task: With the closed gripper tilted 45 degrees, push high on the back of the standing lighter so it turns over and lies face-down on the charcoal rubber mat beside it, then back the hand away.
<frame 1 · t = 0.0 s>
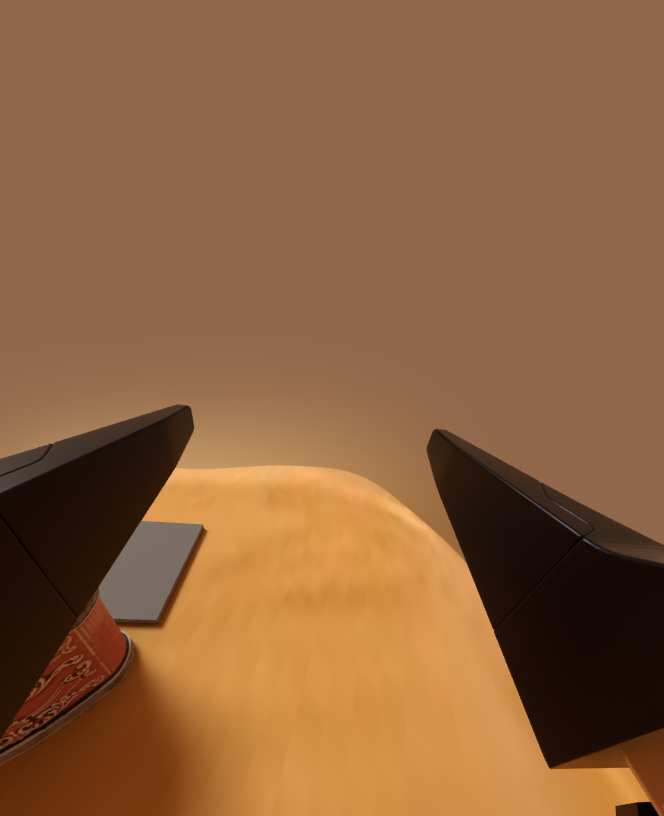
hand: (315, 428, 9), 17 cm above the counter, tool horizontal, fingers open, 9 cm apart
lighter: (40, 705, 13), on the counter
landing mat: (103, 564, 19), on the counter
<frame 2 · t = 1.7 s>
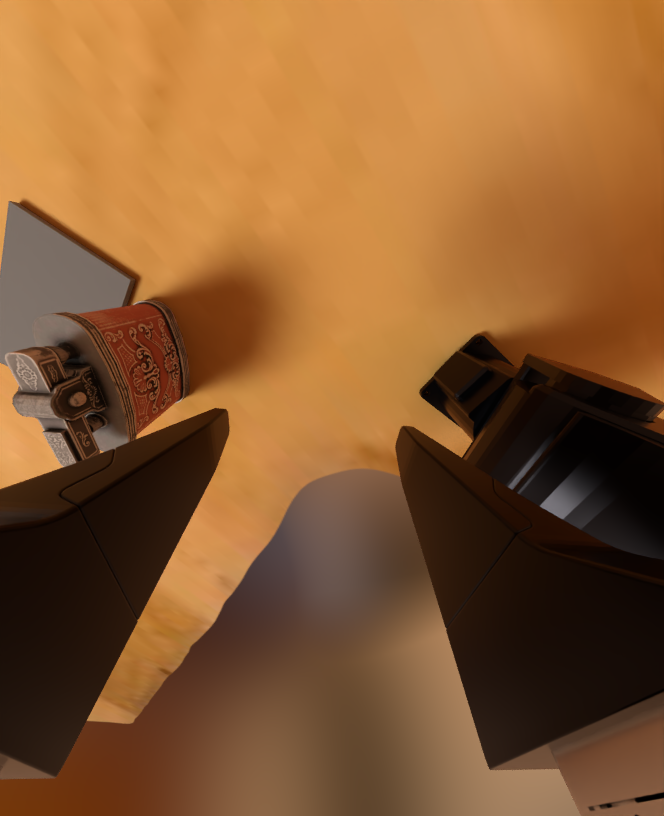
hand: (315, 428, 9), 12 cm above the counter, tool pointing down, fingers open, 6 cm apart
lighter: (166, 353, 20), on the counter
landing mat: (62, 320, 19), on the counter
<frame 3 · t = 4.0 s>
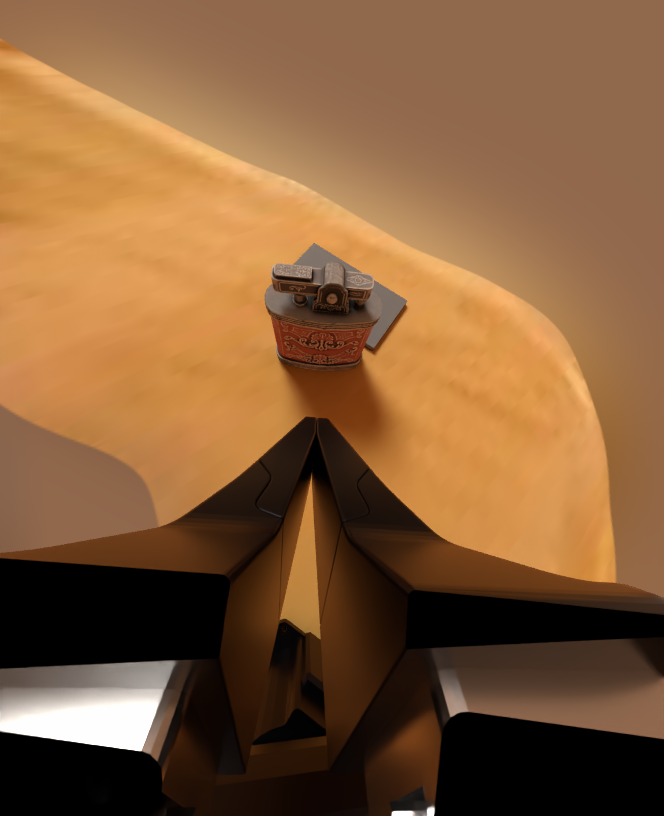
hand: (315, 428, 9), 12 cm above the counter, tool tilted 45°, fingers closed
lighter: (319, 355, 24), on the counter
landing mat: (341, 296, 26), on the counter
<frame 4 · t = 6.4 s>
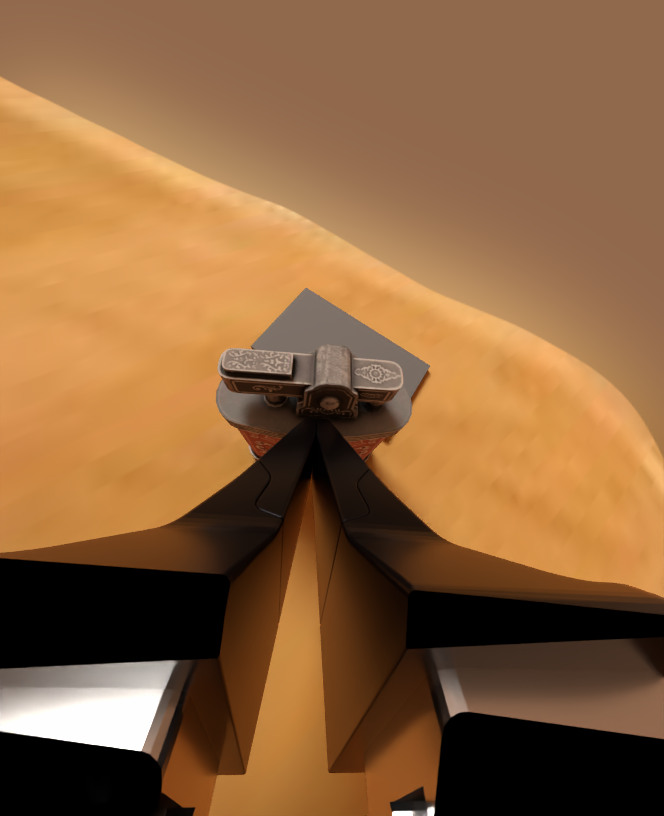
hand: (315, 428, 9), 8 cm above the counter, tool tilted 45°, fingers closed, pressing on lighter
lighter: (311, 447, 17), on the counter, touching gripper
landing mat: (342, 359, 19), on the counter
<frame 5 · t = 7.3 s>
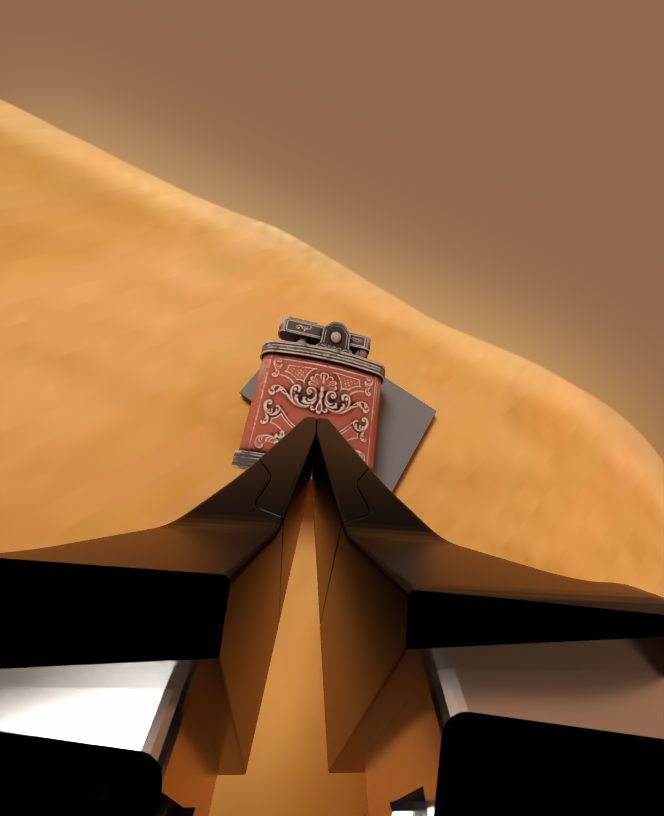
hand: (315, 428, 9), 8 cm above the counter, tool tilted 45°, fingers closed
lighter: (304, 481, 14), point 2 cm above the counter, touching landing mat
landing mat: (340, 404, 18), on the counter
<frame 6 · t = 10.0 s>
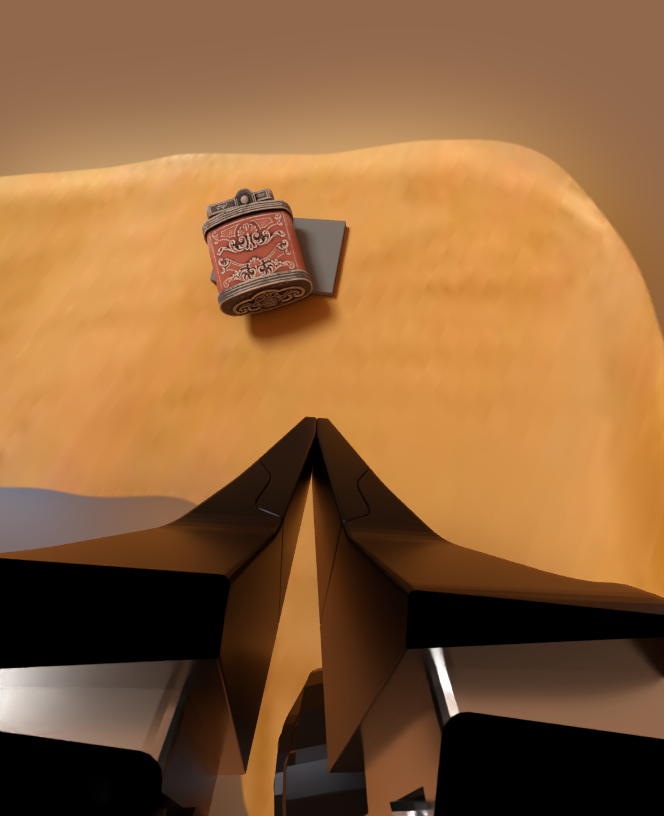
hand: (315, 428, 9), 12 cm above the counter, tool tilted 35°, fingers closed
lighter: (267, 300, 21), point 2 cm above the counter, touching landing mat
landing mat: (278, 255, 24), on the counter
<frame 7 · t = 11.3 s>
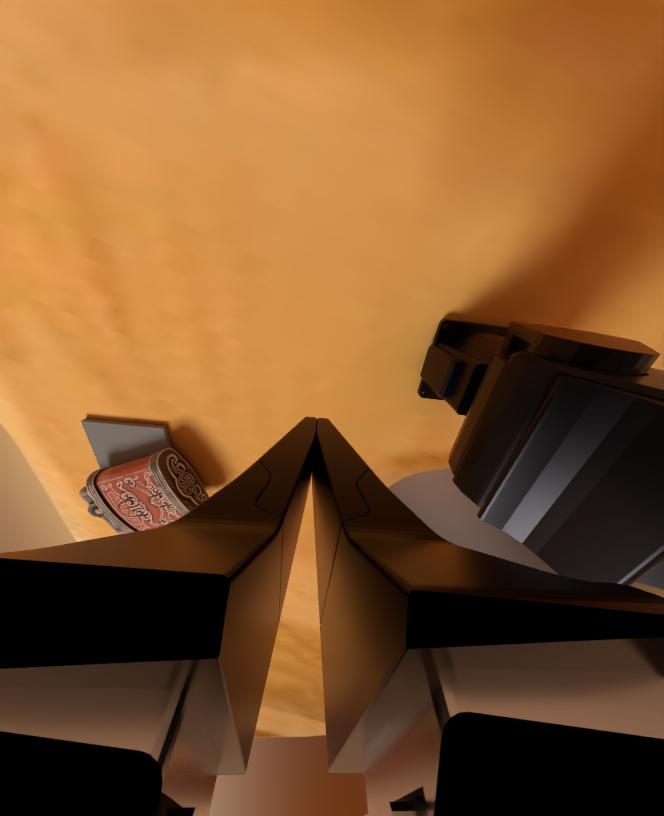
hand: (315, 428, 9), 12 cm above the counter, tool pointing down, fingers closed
lighter: (188, 484, 24), point 2 cm above the counter, touching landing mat
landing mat: (142, 471, 25), on the counter
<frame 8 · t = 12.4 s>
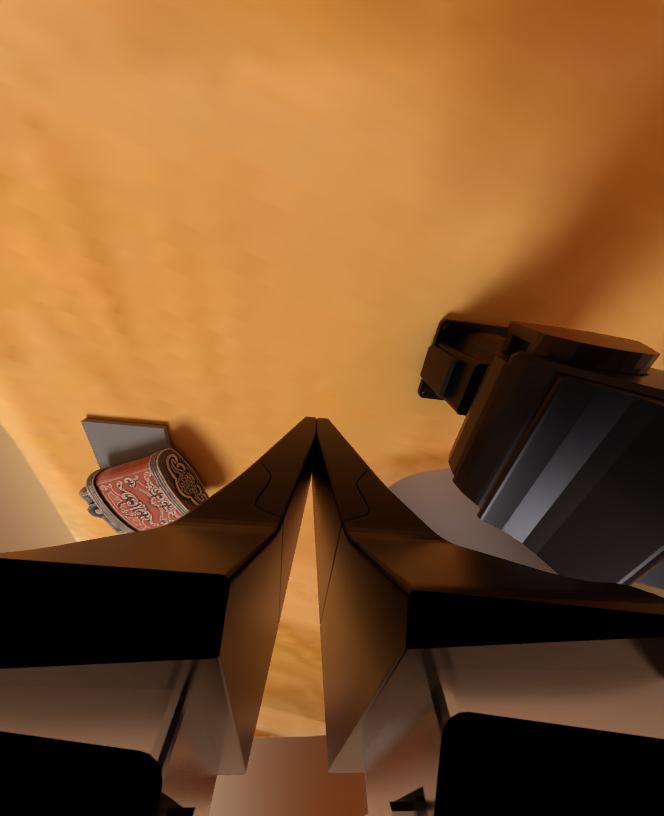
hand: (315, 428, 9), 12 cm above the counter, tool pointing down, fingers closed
lighter: (188, 484, 24), point 2 cm above the counter, touching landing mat
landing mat: (142, 471, 25), on the counter
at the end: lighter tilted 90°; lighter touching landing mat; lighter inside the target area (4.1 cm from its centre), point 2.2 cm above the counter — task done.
